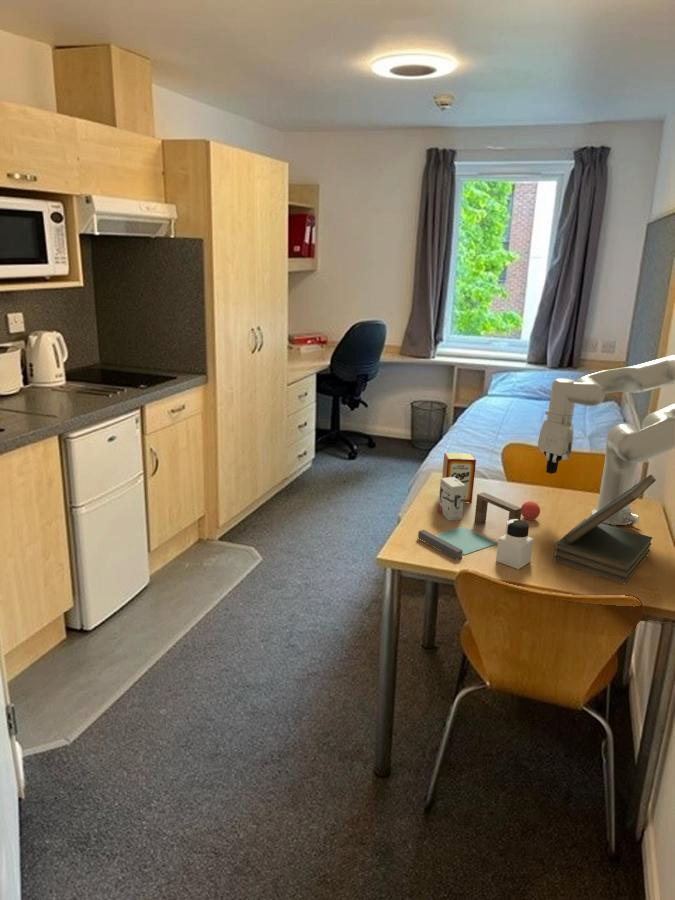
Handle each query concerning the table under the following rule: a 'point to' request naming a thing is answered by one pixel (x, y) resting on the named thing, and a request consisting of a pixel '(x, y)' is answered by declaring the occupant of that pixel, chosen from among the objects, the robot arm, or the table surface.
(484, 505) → the bridge
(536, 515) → the ball
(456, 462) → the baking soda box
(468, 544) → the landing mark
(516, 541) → the medicine bottle
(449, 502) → the ink box
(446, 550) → the stopper wall
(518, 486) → the table surface
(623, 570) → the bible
